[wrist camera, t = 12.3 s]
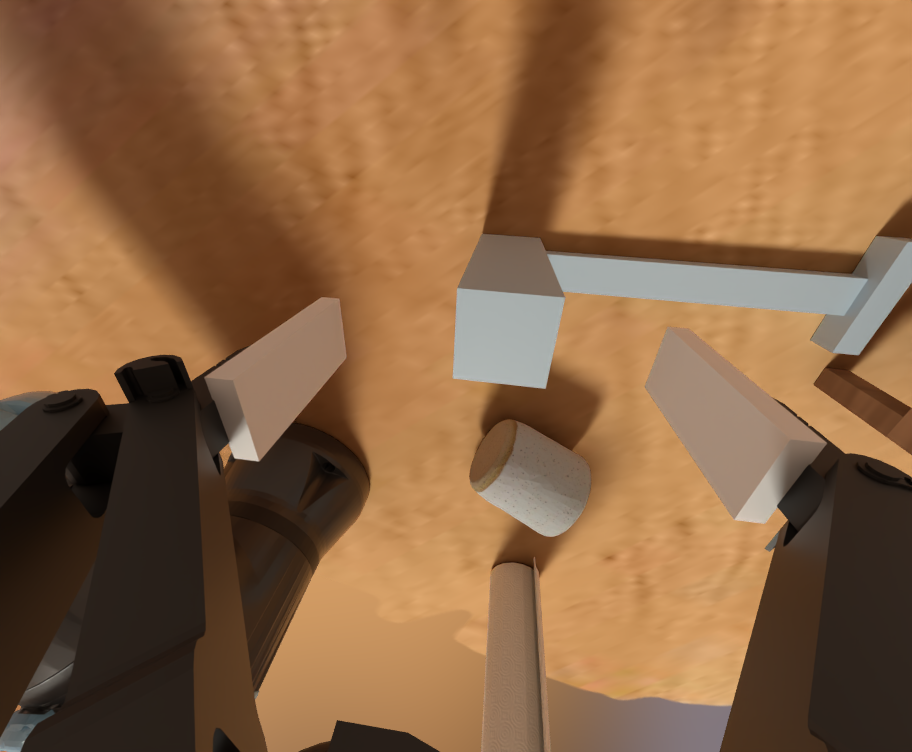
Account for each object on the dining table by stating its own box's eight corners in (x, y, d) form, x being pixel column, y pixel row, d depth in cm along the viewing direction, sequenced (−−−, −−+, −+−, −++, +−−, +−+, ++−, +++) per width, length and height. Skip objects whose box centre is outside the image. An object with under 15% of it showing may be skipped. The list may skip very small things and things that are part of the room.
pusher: (476, 309, 27) (451, 406, 16) (484, 209, 23) (459, 246, 12) (834, 342, 25) (1097, 483, 14) (905, 237, 21) (1343, 313, 10)
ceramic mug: (510, 398, 31) (509, 460, 24) (585, 440, 32) (602, 510, 26) (453, 465, 36) (439, 531, 30) (518, 499, 38) (518, 570, 31)
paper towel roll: (503, 591, 47) (498, 861, 28) (482, 565, 44) (461, 842, 26) (554, 582, 44) (585, 874, 26) (534, 554, 42) (553, 854, 23)
